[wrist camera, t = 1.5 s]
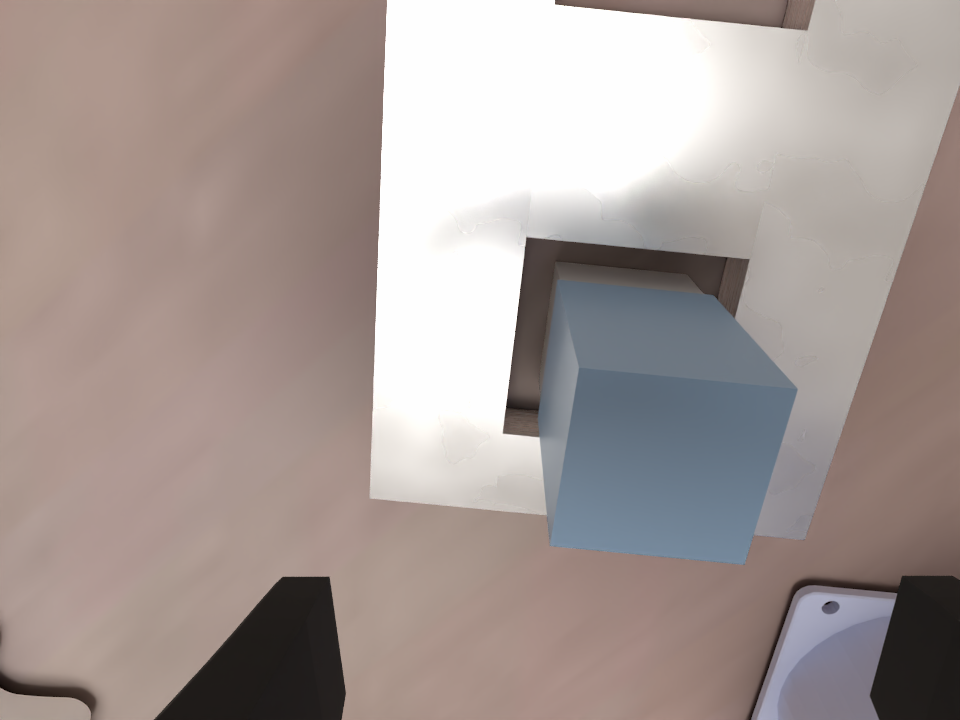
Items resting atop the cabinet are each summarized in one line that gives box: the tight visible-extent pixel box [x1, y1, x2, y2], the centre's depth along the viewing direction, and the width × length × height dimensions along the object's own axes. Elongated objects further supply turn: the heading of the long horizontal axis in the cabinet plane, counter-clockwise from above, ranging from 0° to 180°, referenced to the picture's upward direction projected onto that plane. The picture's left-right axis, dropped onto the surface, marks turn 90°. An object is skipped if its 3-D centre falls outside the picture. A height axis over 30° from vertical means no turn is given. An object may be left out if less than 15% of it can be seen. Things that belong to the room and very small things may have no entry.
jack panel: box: [370, 0, 960, 540], centre depth 16 cm, size 12×20×2 cm, turn 175°
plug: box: [538, 261, 798, 565], centre depth 15 cm, size 4×4×7 cm
